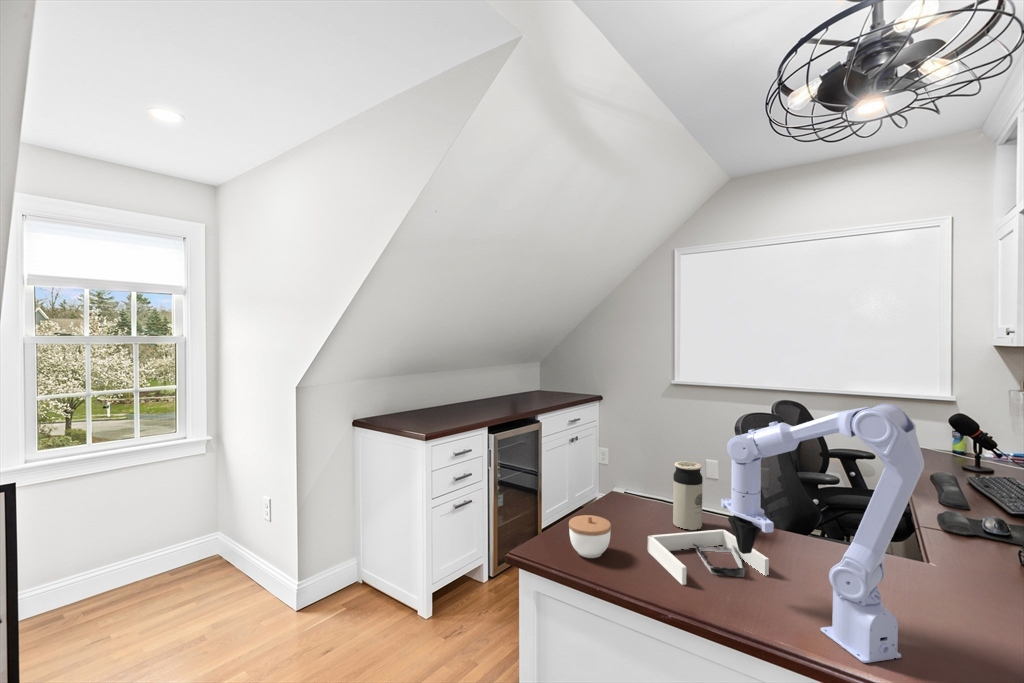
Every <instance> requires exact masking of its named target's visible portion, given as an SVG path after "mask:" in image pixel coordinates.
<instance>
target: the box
mask: <svg viewBox="0 0 1024 683" xmlns="http://www.w3.org/2000/svg"><path fill="white" fill-rule="evenodd" d="M646 542H647V543H646V544H647V549H646V551H647V553H648V554H650V555H651V556H652V557H653V558H654V559H655V561H657V562H658V563H659V564H660V565H661V566H662V567H663V568H664V569H665V570H666V571H667V572H668V573H669V574H671V576H672V577H673V578H674V579H675V580H676V581H677V582H679V583H680V584H681V586H685V585H687V566H686V565H685V564H683V563H682V562H681V561H680V560H679V559H678V558H677V557H676V556H675V555H673V553H671V552H672V551H682V550H681V549H684V550H690V549H689V548H695V547H694V546H693V543H694V544H695V545H696V544H697V545H702V546H704V547H707V546H717V547H719V546H718V545H723V546H722V547H724V546H725V547H727V548H728V547H729V548H730V549H731V548H732V545H734V546H735V549H736V551H737V553H738V555H739V557H740V558H741V560H742V559H743V560H744V561H745V562H744V563H746V562H747V563H748V564H747V563H746V564H747V565H749V566H750V565H751V566H752V567H751V566H750V567H751V568H752V569H754V568H755V569H756V570H755V569H754V570H755V571H757V570H758V571H759V572H758V571H757V572H758V573H760V574H761V573H762V574H763V575H762V574H761V575H762V576H764V575H765V576H764V577H768V576H767V575H769V574H770V573H769V572H770V570H769V569H770V568H769V566H770V559H769V558H768V557H767V556H765V555H764V554H762V553H761V552H759V551H757V549H755V548H754V547H753V548H752V552H751V553H747V554H743V553H741V552H740V551H739V549H738V545H737V541H736V537H735V534H732V533H731V532H729V531H727V530H726V529H713V530H712V529H711V530H710V529H709V530H701V531H689V532H677V533H665V534H663V533H662V534H652V535H647V541H646ZM695 549H696V548H695ZM743 560H742V561H743Z"/></svg>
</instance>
